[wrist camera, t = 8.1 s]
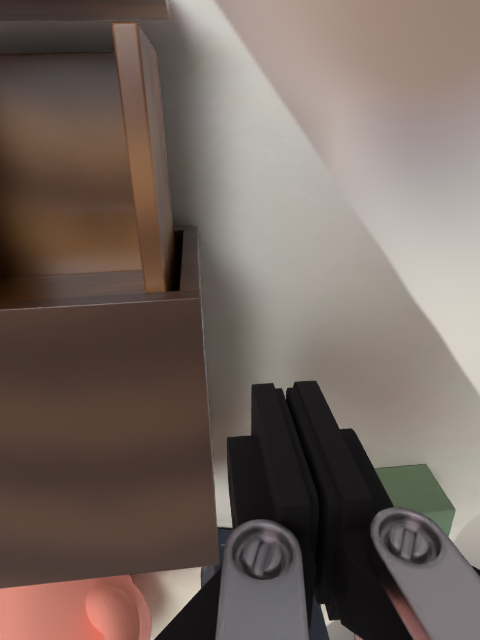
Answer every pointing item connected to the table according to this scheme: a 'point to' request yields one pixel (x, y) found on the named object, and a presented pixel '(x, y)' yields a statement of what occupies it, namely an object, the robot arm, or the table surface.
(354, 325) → the table surface
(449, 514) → the block
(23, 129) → the drawer
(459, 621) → the robot arm
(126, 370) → the cabinet
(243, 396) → the table surface
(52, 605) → the teapot
